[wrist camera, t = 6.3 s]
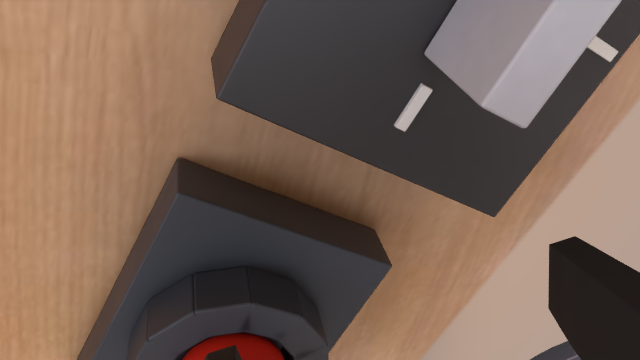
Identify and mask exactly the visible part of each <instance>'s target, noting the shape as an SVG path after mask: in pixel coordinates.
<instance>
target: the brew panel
mask: <svg viewBox="0 0 640 360" xmlns="http://www.w3.org/2000/svg"><path fill="white" fill-rule="evenodd" d="M456 1H457V0H239V2H238V4H237V6H236V9H235V11H234V13H233V15H232V17H231V19H230V21H229V23H228V25H227V27H226V29H225V31H224V33H223V35H222V37H221V39H220V41H219V44H218V46H217V48H216V50H215V52H214V54H213V56H212V58H211V62H212V70H213V77H214V84H215V92H216V98H217V99H218V100H221V101H223V102H225V103H228V104H230V105H232V106H235V107H237V108H239V109H242V110H244V111H246V112H249V113H251V114H253V115H256V116H258V117H260V118H263V119H265V120H267V121H270V122H272V123H274V124H277V125H279V126H281V127H284V128H286V129H288V130H291V131H293V132H296V133H298V134H300V135H303V136H305V137H307V138H310V139H312V140H314V141H317V142H319V143H321V144H324V145H326V146H328V147H331V148H333V149H335V150H338V151H340V152H342V153H345V154H347V155H349V156H352V157H354V158H356V159H359V160H361V161H363V162H366V163H368V164H370V165H373V166H375V167H377V168H380V169H382V170H384V171H387V172H389V173H391V174H394V175H396V176H398V177H401V178H403V179H406V180H408V181H410V182H413V183H415V184H417V185H420V186H422V187H424V188H427V189H429V190H431V191H434V192H436V193H438V194H441V195H443V196H445V197H448V198H450V199H452V200H455V201H457V202H459V203H462V204H464V205H466V206H469V207H471V208H473V209H476V210H478V211H480V212H483V213H485V214H487V215H490V216H492V217H495V216H496V215H497V214H498V212H499V211H500V210H501V208H502V207H503V206H504V205H505V203H506V202H507V201H508V200H509V198H510V197H511V196H512V195H513V193H514V192H515V191H516V190H517V188H518V187H519V186H520V184H521V183H522V182H523V181H524V179H525V178H526V177H527V176H528V174H529V173H530V172H531V171H532V169H533V168H534V167H535V165H536V164H537V163H538V162H539V160H540V159H541V158H542V157H543V155H544V154H545V153H546V152H547V150H548V149H549V148H550V147H551V145H552V144H553V143H554V141H555V140H556V139H557V138H558V136H559V135H560V134H561V133H562V131H563V130H564V129H565V128H566V126H567V125H568V124H569V122H570V121H571V120H572V119H573V117H574V116H575V115H576V114H577V112H578V111H579V110H580V109H581V107H582V106H583V105H584V104H585V102H586V101H587V100H588V98H589V97H590V96H591V95H592V93H593V92H594V91H595V90H596V88H597V87H598V86H599V85H600V83H601V82H602V81H603V79H604V78H605V77H606V76H607V74H608V73H609V72H610V71H611V69H612V68H613V67H614V66H615V64H616V63H617V62H618V61H619V59H620V58H621V57H622V55H623V54H624V53H625V52H626V50H627V49H628V48H629V47H630V45H631V44H632V43H633V42H634V40H635V39H636V38H637V36H638V35H639V34H640V0H622V1H621V2H620V4H619V5H618V6H617V8H616V9H615V10H614V12H613V13H612V14H611V16H610V17H609V18H608V20H607V21H606V22H605V24H604V25H603V26H602V28H601V29H600V30H599V32H598V33H597V34H596V36H595V37H594V38H593V40H592V41H591V42H590V44H589V45H588V46H587V48H586V49H585V50H584V52H583V53H582V54H581V56H580V57H579V58H578V60H577V61H576V62H575V64H574V65H573V66H572V68H571V69H570V71H569V72H568V73H567V75H566V76H565V77H564V79H563V80H562V81H561V83H560V84H559V85H558V87H557V88H556V89H555V91H554V92H553V93H552V95H551V96H550V97H549V99H548V100H547V101H546V103H545V104H544V105H543V107H542V108H541V109H540V111H539V112H538V113H537V115H536V116H535V117H534V119H533V120H532V121H531V123H530V124H529V125H528V127H527V128H521V127H519V126H517V125H515V124H513V123H511V122H509V121H507V120H505V119H503V118H501V117H499V116H497V115H495V114H493V113H492V112H490V111H488V110H486V109H484V108H482V107H481V106H480V105H478V104H477V103H476V102H475V101H474V100H473V99H472V98H471V97H470V96H469V95H468V94H467V93H465V92H464V91H463V90H462V89H461V88H460V87H459V86H458V85H457V84H456V83H455V82H453V81H452V80H451V79H450V78H449V77H448V76H447V75H446V74H445V73H444V72H443V71H442V70H440V69H439V68H438V67H437V66H436V65H435V64H434V63H433V62H432V61H431V60H430V59H428V58H427V57H426V56H425V54H424V53H425V51H426V49H427V47H428V46H429V44H430V43H431V41H432V39H433V38H434V36H435V35H436V33H437V31H438V30H439V28H440V27H441V25H442V23H443V22H444V20H445V19H446V17H447V16H448V14H449V12H450V11H451V9H452V8H453V6H454V4H455V3H456Z"/></svg>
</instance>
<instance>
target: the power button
mask: <svg viewBox="0 0 640 360" xmlns="http://www.w3.org/2000/svg"><path fill="white" fill-rule="evenodd" d="M233 345H236V347H237V350H238V352H239V354H240V356H241V358H242V360H284V357H283V354H282V353H281V351H280V349H279V348H278V347H277V346H276V345H275V344H274V343H273V342H271V341H270V340H268V339H266V338H264V337H261V336H258V335H255V334H250V333H233V334H227V335H220V336H215V337H212V338H209V339H207V340H204V341H203V342H201V343H199V344H197V345H196V346H194V347H193V348H192V349H190V350H189V351H188V352H187V353H186V354H185V355H184V357H183V358H182V360H204V358H205V357H206V355H207V354H208V353H211V352H214V351H217V350H220V349H223V348H226V347H229V346H233Z"/></svg>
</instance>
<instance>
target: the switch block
mask: <svg viewBox="0 0 640 360" xmlns="http://www.w3.org/2000/svg"><path fill="white" fill-rule="evenodd" d="M391 267H392V264H391V262H390V260H389V258H388V256H387V254H386V252H385V250H384V248H383V246H382V244H381V242H380V240H379V238H378V236H377V233H376V231H375V230H373V229H371V228H368V227H365V226H362V225H360V224H357V223H354V222H352V221H349V220H346V219H344V218H341V217H338V216H335V215H333V214H330V213H327V212H325V211H322V210H319V209H316V208H314V207H311V206H308V205H306V204H303V203H300V202H297V201H295V200H292V199H289V198H287V197H284V196H281V195H279V194H276V193H273V192H270V191H268V190H265V189H262V188H260V187H257V186H254V185H251V184H249V183H246V182H243V181H241V180H238V179H235V178H232V177H230V176H227V175H224V174H222V173H219V172H216V171H214V170H211V169H208V168H205V167H203V166H200V165H197V164H195V163H192V162H189V161H186V160H184V159H181V158H178V159H177V160H176V162H175V164H174V166H173V168H172V170H171V172H170V174H169V176H168V178H167V180H166V182H165V184H164V186H163V188H162V190H161V192H160V194H159V196H158V198H157V200H156V202H155V204H154V206H153V208H152V210H151V212H150V214H149V216H148V218H147V220H146V222H145V224H144V226H143V228H142V230H141V232H140V234H139V236H138V238H137V240H136V242H135V244H134V246H133V248H132V250H131V252H130V254H129V256H128V258H127V260H126V262H125V264H124V266H123V268H122V270H121V272H120V274H119V276H118V278H117V280H116V282H115V284H114V286H113V289H112V291H111V293H110V295H109V297H108V299H107V301H106V303H105V305H104V307H103V309H102V311H101V313H100V315H99V317H98V319H97V321H96V323H95V325H94V327H93V329H92V331H91V333H90V335H89V337H88V339H87V341H86V343H85V345H84V347H83V349H82V351H81V353H80V355H79V357H78V359H77V360H182V358H183V357H184V355H185V354H186V353H187V352H188V351H189V350H190V349H192V348H193V347H194V346H196V345H197V344H199V343H201V342H203V341H204V340H207V339H209V338H212V337H215V336H220V335H227V334H233V333H250V334H255V335H258V336H261V337H264V338H266V339H268V340H270V341H271V342H273V343H274V344H275V345H276V346H277V347H278V348H279V349H280V351H281V353H282V354H283V357H284V360H328V353H329V351H330V350H331V349H332V347H333V346H334V345H335V343H336V342H337V341H338V339H339V338H340V337H341V335H342V334H343V332H344V331H345V330H346V328H347V327H348V326H349V324H350V323H351V322H352V320H353V319H354V317H355V316H356V315H357V313H358V312H359V311H360V309H361V308H362V307H363V305H364V304H365V302H366V301H367V300H368V298H369V297H370V296H371V294H372V293H373V292H374V290H375V289H376V288H377V286H378V285H379V283H380V282H381V281H382V279H383V278H384V277H385V275H386V274H387V273H388V271H389V270H390V268H391Z"/></svg>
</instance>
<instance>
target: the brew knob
mask: <svg viewBox="0 0 640 360" xmlns="http://www.w3.org/2000/svg"><path fill="white" fill-rule="evenodd" d="M621 1H622V0H457V1H456V3H455V4H454V6H453V8H452V9H451V11H450V12H449V14H448V16H447V17H446V19H445V20H444V22H443V23H442V25H441V27H440V28H439V30H438V31H437V33H436V35H435V36H434V38H433V39H432V41H431V43H430V44H429V46H428V47H427V49H426V51H425V53H424V54H425V56H426V57H427V58H428V59H430V60H431V61H432V62H433V63H434V64H435V65H436V66H437V67H438V68H439V69H440V70H442V71H443V72H444V73H445V74H446V75H447V76H448V77H449V78H450V79H451V80H452V81H453V82H455V83H456V84H457V85H458V86H459V87H460V88H461V89H462V90H463V91H464V92H465V93H467V94H468V95H469V96H470V97H471V98H472V99H473V100H474V101H475V102H476V103H477V104H478V105H480V106H481V107H482V108H484V109H486V110H488V111H490V112H492V113H493V114H495V115H497V116H499V117H501V118H503V119H505V120H507V121H509V122H511V123H513V124H515V125H517V126H519V127H521V128H527V127H528V125H529V124H530V123H531V121H532V120H533V119H534V117H535V116H536V115H537V113H538V112H539V111H540V109H541V108H542V107H543V105H544V104H545V103H546V101H547V100H548V99H549V97H550V96H551V95H552V93H553V92H554V91H555V89H556V88H557V87H558V85H559V84H560V83H561V81H562V80H563V79H564V77H565V76H566V75H567V73H568V72H569V71H570V69H571V68H572V66H573V65H574V64H575V62H576V61H577V60H578V58H579V57H580V56H581V54H582V53H583V52H584V50H585V49H586V48H587V46H588V45H589V44H590V42H591V41H592V40H593V38H594V37H595V36H596V34H597V33H598V32H599V30H600V29H601V28H602V26H603V25H604V24H605V22H606V21H607V20H608V18H609V17H610V16H611V14H612V13H613V12H614V10H615V9H616V8H617V6H618V5H619V4H620V2H621Z"/></svg>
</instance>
